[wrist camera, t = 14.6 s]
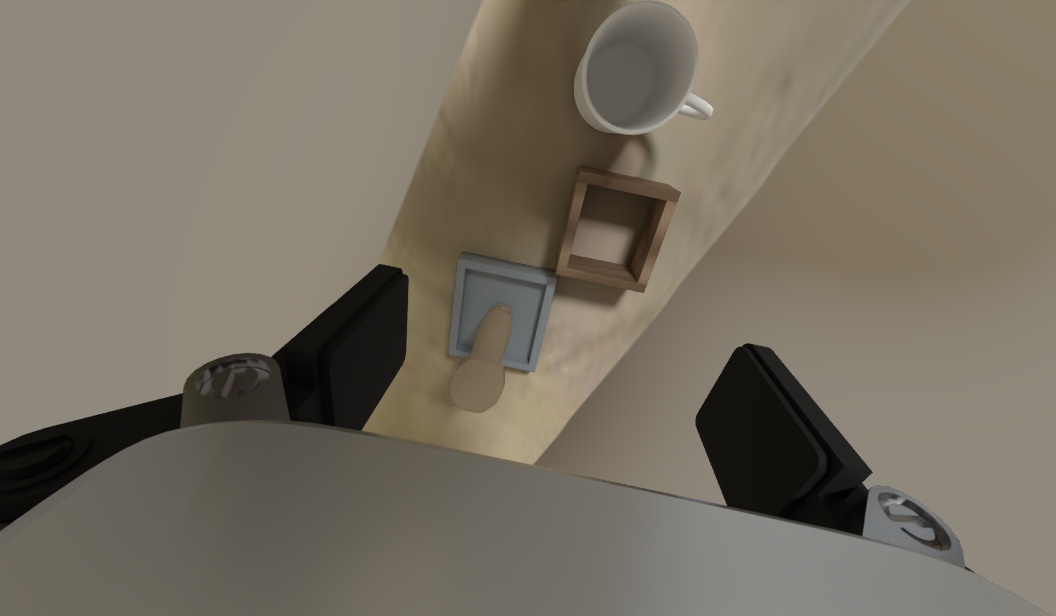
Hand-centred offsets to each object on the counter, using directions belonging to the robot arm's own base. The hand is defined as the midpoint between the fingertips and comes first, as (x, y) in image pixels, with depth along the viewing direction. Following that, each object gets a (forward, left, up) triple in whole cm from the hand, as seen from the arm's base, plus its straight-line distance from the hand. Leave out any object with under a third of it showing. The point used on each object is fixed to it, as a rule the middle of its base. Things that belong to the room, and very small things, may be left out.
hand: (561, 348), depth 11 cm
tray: (+18, -4, -34) cm, 39 cm away
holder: (+4, +6, -34) cm, 35 cm away
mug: (-9, +5, -35) cm, 36 cm away
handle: (+18, -4, -34) cm, 38 cm away
